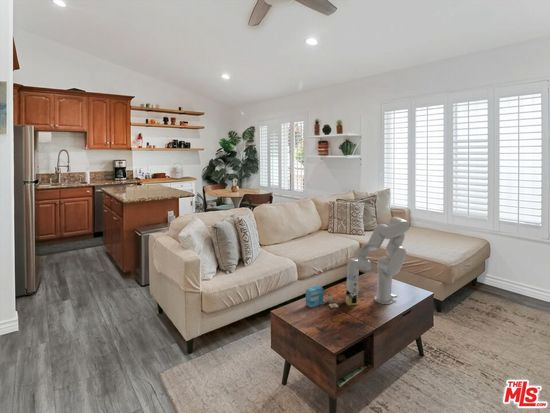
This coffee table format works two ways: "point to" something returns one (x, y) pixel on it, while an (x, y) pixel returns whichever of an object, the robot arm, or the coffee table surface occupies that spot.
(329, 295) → the shiny grey cylinder
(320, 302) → the data package
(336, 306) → the beige striped flat block
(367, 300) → the coffee table surface
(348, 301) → the yellow and grey block
